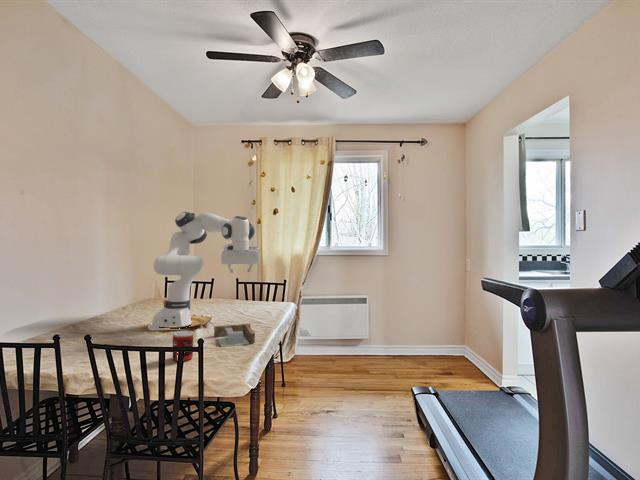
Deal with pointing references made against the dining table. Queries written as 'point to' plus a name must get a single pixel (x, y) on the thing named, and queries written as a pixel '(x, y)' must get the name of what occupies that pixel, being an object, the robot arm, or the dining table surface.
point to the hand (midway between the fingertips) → (240, 272)
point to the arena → (244, 328)
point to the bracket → (233, 336)
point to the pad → (224, 343)
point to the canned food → (183, 343)
